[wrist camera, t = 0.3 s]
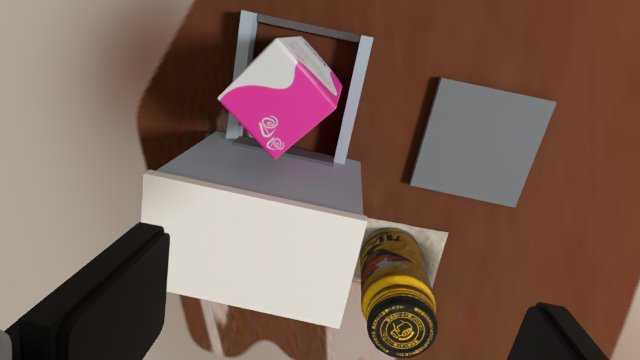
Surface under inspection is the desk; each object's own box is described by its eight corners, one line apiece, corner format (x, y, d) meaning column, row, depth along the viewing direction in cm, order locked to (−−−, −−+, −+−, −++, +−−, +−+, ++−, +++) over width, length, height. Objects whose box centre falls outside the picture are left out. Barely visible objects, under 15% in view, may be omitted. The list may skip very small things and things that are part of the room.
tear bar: (259, 14, 35) (258, 13, 34) (359, 35, 35) (359, 35, 34) (258, 21, 35) (257, 21, 34) (358, 42, 35) (358, 42, 34)
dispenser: (228, 7, 35) (152, -13, 22) (391, 42, 35) (414, 42, 22) (206, 208, 41) (137, 285, 28) (343, 237, 41) (339, 328, 28)
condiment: (363, 216, 40) (367, 285, 29) (448, 231, 40) (485, 306, 29) (350, 278, 43) (349, 364, 31) (429, 293, 42) (457, 384, 31)
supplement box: (254, 80, 37) (212, 96, 26) (302, 34, 35) (279, 31, 24) (297, 128, 38) (274, 162, 27) (345, 85, 36) (341, 104, 25)
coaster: (439, 77, 35) (441, 77, 34) (552, 100, 35) (556, 102, 34) (409, 182, 39) (410, 185, 38) (511, 204, 38) (515, 207, 38)
